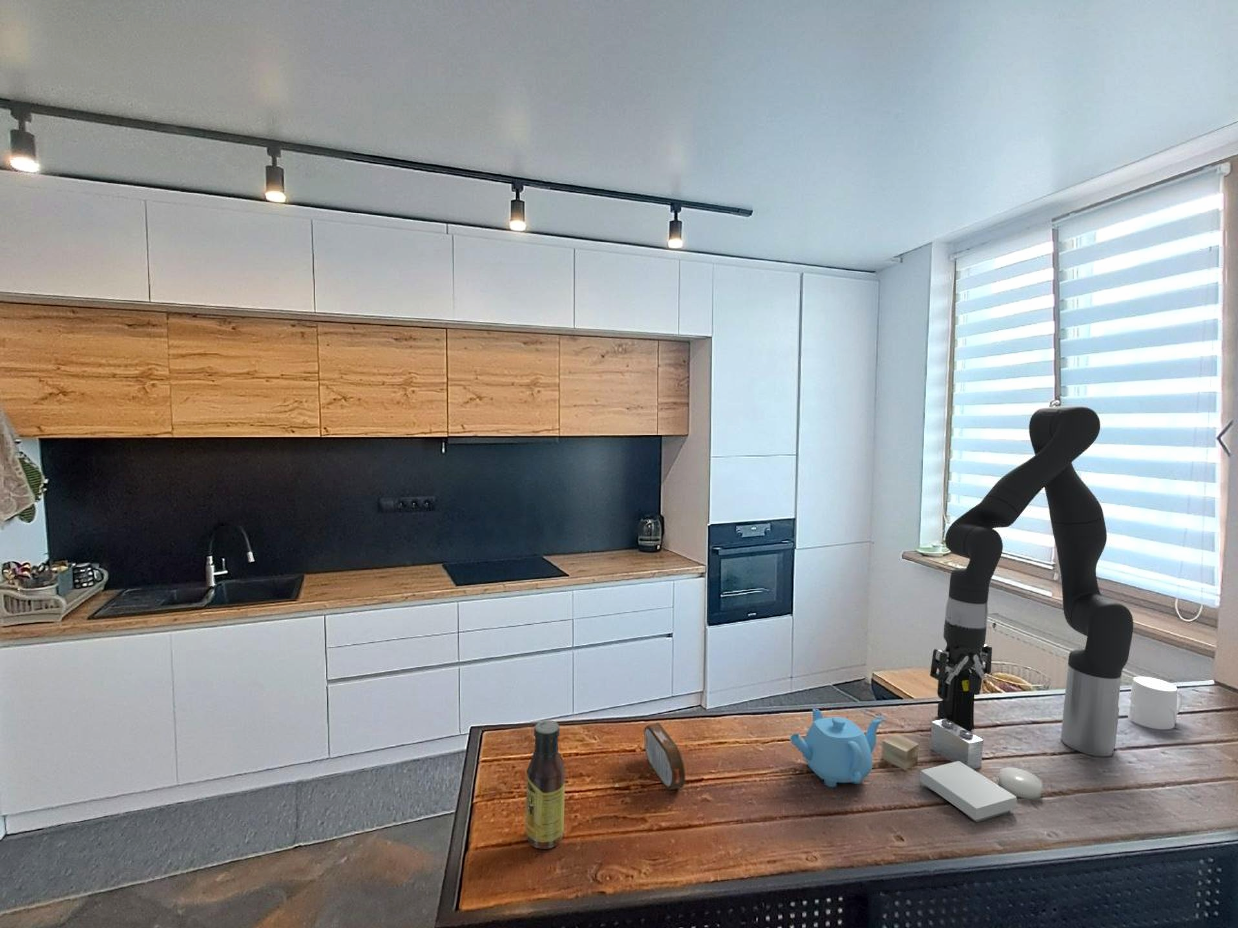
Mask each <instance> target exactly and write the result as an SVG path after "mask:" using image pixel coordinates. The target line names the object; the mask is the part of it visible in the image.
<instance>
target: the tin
mask: <svg viewBox="0 0 1238 928" xmlns="http://www.w3.org/2000/svg"><path fill="white" fill-rule="evenodd" d="M643 732H644V733H643V734H644V749H645V750H644V751H645V753H646V757H647V760H648V762H649V764H650V767H652V769H653V771H654V772H655V774H656V775H657V776H658V778H659V780H660V781H661V783H662V784H663V786H664V787H665V788H666V789H667V790H668V791H672V790H675V789H682V788H684V786H685V785H686V783H685V782H686V772H685V764H684V759H683V756H682V755H681V751H680V749H679V747H678V744H676V742H675V741H674V739H673V738H672V737H671V736H670V735H669V733H668V732H667V730H666V729H665V728H664V727H663V725H662V724H661V723H660V722H655V723H652V724H648V725H646V726H645V727H644V729H643Z"/></svg>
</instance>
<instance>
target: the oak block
mask: <svg viewBox="0 0 1238 928" xmlns="http://www.w3.org/2000/svg"><path fill="white" fill-rule="evenodd" d="M919 747H920V744H919V743H918V742H915V741H913V740H911V739H908V738H906V737H905V736H902V735H900V734H898V733H893V734H892V735H891V736H888V737H887V738H885V739H883V740H882V747H881V748H882V749H881V759H883V760H884V761H886V762H889V763H890V764H892V765H894V766H896V767H898V768H900V769H901V770H902V769H903V770H904V771H906V770H907V769H908V768H911V767H912V766H914V765H915V764H917V763H918V761H919V750H920V749H919Z"/></svg>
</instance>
